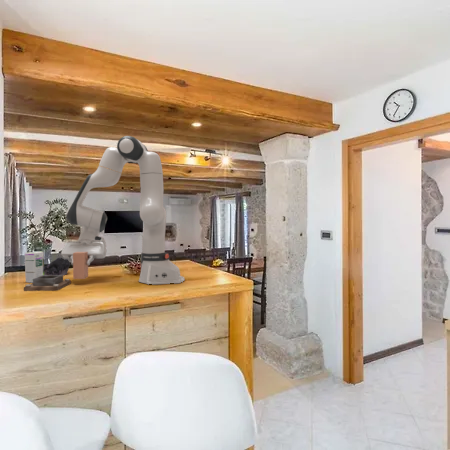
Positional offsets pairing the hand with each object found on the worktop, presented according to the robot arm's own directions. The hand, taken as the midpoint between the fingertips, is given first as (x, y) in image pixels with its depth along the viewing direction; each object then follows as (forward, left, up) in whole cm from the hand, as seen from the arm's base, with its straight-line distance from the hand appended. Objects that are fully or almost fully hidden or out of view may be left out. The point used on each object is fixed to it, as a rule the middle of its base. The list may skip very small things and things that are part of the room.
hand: (80, 264), depth 150 cm
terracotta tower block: (0, -1, -6) cm, 6 cm away
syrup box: (+24, -7, -10) cm, 27 cm away
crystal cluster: (+22, -25, -10) cm, 35 cm away
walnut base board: (+12, +5, -9) cm, 16 cm away
